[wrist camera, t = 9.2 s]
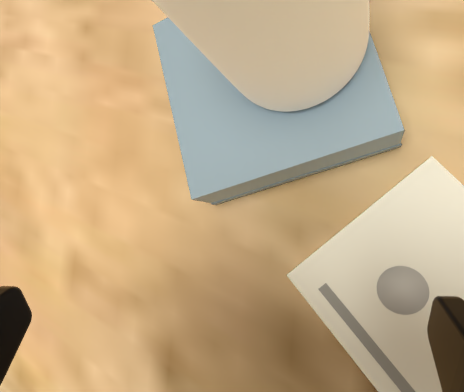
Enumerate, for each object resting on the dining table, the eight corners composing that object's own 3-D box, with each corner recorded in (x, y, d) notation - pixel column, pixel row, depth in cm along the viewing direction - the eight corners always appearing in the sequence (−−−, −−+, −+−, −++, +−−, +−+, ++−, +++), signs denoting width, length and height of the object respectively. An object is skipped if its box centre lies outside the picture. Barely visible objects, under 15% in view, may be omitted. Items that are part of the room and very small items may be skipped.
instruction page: (682, 389, 13) (687, 392, 13) (470, 506, 15) (471, 510, 15) (431, 156, 17) (432, 155, 17) (287, 274, 19) (286, 275, 19)
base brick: (400, 146, 17) (406, 130, 15) (215, 204, 21) (190, 200, 18) (340, -29, 19) (334, -72, 16) (179, 50, 23) (152, 25, 20)
